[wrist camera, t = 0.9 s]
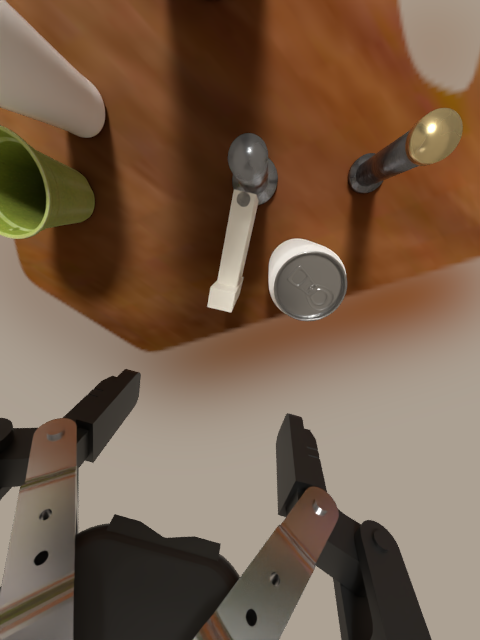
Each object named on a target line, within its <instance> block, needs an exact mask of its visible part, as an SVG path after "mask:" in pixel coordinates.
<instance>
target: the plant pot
mask: <svg viewBox="0 0 480 640" xmlns="http://www.w3.org/2000/svg"><path fill="white" fill-rule="evenodd" d="M94 206H95V198H94V193H93V191H92V189H91V187H90V186H89V184H88V181H87V179H86V178H85V177H84V176H83V175H82V174H81V173H80V172H78V171H76V170H74V169H72V168H70V167H68V166H66V165H64V164H62V163H60V162H58V161H56V160H54V159H52V158H50V157H48V156H46V155H44V154H42V153H40V152H39V151H37V150H35V149H34V148H32V147H31V146H30V145H28V144H27V143H26V142H25V141H24V140H23V139H22V138H21V137H20V136H18V135H17V134H16V133H14V132H13V131H11V130H9V129H7V128H5V127H3V126H1V125H0V235H2V236H4V237H8V238H13V239H23V238H29V237H32V236H34V235H36V234H38V233H39V232H40V231H42V230H44V229H46V228H51V227H56V226H62V225H67V224H73V223H80V222H82V221H84V220H86V219H88V218H89V217H90V216H91V215H92V213H93V210H94Z"/></svg>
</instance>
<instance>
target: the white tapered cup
mask: <svg viewBox="0 0 480 640" xmlns="http://www.w3.org/2000/svg"><path fill="white" fill-rule="evenodd" d="M0 108H3V109H6V110H9V111H12V112H15V113H18V114H20V115H23V116H26V117H29V118H32V119H35V120H38V121H41V122H43V123H46V124H49V125H52V126H55V127H57V128H60V129H63V130H66V131H68V132H70V133H72V134H74V135H77V136H79V137H83V138H90V137H94V136H96V135H97V134H98V133H99V132H100V131H101V130H102V128H103V126H104V122H105V106H104V102H103V99H102V97H101V95H100V93H99V91H98V90H97V88H96V87H95V86H94V85H93V84H92V83H91V82H90V81H89V80H88V79H87V78H85V77H84V76H83V75H82V74H80V73H79V72H78V71H77V70H76V69H75V68H74V67H73V66H72V65H71V64H70V63H69V62H68V61H67V60H66V59H65V58H64V57H63V56H62V55H61V54H60V53H59V52H58V51H56V50H55V49H54V48H53V47H52V46H51V45H50V44H49V43H48V42H47V41H46V40H45V39H44V38H43V37H42V36H41V35H40V34H39V33H38V32H37V31H36V30H35V29H34V28H33V27H32V26H31V25H30V24H29V23H28V22H27V21H26V20H25V19H24V18H23V17H22V16H21V15H20V14H19V13H18V12H17V11H16V10H15V9H14V8H13V7H12V6H11V5H10V4H9V3H8V2H6V1H5V0H0Z"/></svg>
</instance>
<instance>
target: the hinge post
mask: <svg viewBox="0 0 480 640" xmlns="http://www.w3.org/2000/svg"><path fill="white" fill-rule="evenodd" d="M228 163H229V167H230V169H231V171H232V173H233V178H232V183H233V189H235V190H239V191H244V192H248V193H253V194H256V195H257V198H258V200H259V202H258V205H261V204H263V203H265V202H267V201H268V200H269V199H270V198H271V197H272V195H273V194H274V192H275V190H276V187H277V180H278V177H277V171H276V168H275V166H274V164H273V162H272V161H271V160H270V159H269V158H268V151H267V147H266V145H265V143H264V141H263V140H262V139H261V138H260V137H259V136H257V135H255V134H252V133H246V134H242V135H240V136H238V137H237V138H236V139H235V140H234V141H233V142H232V144H231V146H230V148H229V152H228Z"/></svg>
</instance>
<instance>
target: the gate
mask: <svg viewBox="0 0 480 640" xmlns="http://www.w3.org/2000/svg"><path fill="white" fill-rule="evenodd" d="M258 202H259V200H258V198H257V195H256V194H253V193H248V192H244V191H239V190H235V189H234V191H233V197H232V202H231V208H230V214H229V219H228V225H227V230H226V236H225V241H224V247H223V252H222V258H221V263H220V269H219V274H218V280H217V281H216V282H215V283H214V284H213V285H212V286H211V287H210V293H209V299H208V305H207V307H210V308H214V309H218V310H222V311H226V312H230V313H232V310H233V308H234V306H235V303H236V301H237V299H238V297H239V294H240V291H241V287H242V282H243V278H244V277H242V275H243V270H244V265H245V261H246V256H247V252H248V247H249V243H250V238H251V234H252V229H253V224H254V220H255V215H256V211H257V206H258Z"/></svg>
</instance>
